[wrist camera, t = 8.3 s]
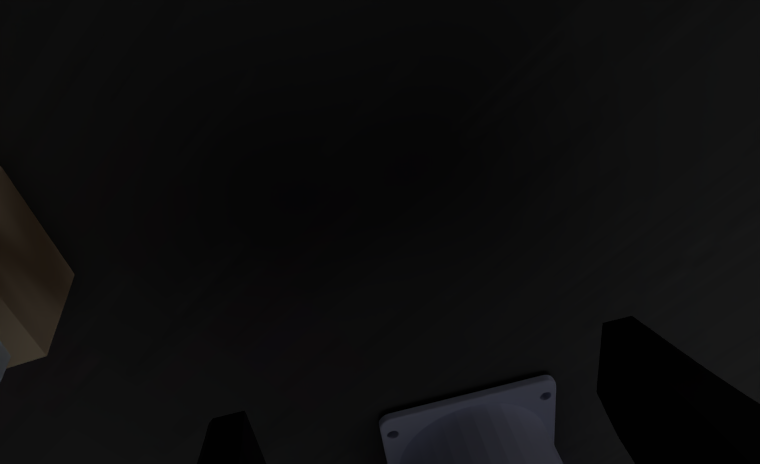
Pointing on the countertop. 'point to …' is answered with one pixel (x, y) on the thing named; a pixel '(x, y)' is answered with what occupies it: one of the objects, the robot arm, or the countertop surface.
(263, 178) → the countertop surface
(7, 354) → the blue-grey cube
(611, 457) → the countertop surface
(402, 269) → the countertop surface
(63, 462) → the countertop surface
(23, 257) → the oak block
